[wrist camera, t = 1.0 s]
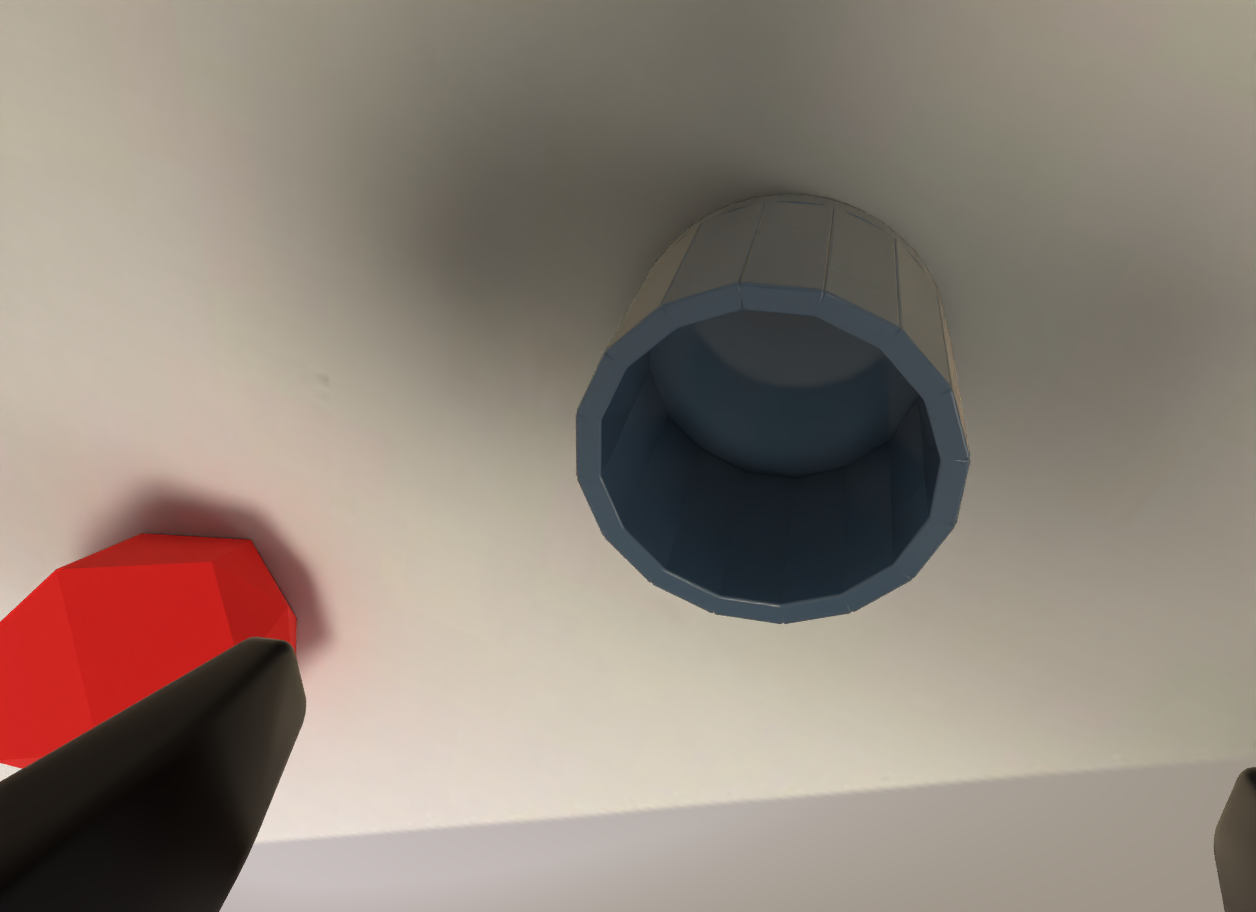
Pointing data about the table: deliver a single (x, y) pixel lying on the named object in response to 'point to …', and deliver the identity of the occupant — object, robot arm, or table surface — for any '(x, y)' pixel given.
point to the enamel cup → (778, 415)
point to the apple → (126, 632)
